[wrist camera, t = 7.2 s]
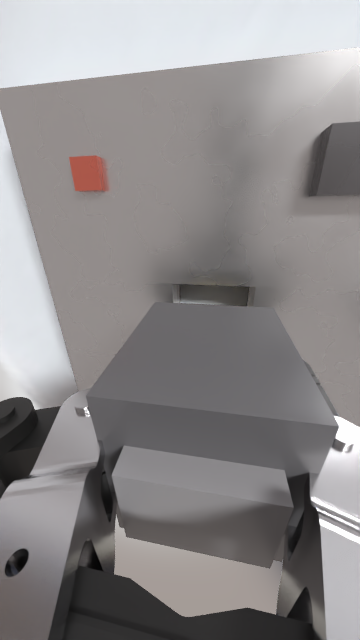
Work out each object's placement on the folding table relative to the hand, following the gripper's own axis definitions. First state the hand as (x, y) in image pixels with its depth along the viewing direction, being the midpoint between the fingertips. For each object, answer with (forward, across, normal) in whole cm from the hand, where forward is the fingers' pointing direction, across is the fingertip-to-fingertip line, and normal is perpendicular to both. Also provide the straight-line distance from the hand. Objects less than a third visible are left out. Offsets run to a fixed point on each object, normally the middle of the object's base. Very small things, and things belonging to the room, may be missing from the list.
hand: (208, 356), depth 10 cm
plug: (+2, 0, 0) cm, 2 cm away
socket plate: (+5, 0, -2) cm, 5 cm away
